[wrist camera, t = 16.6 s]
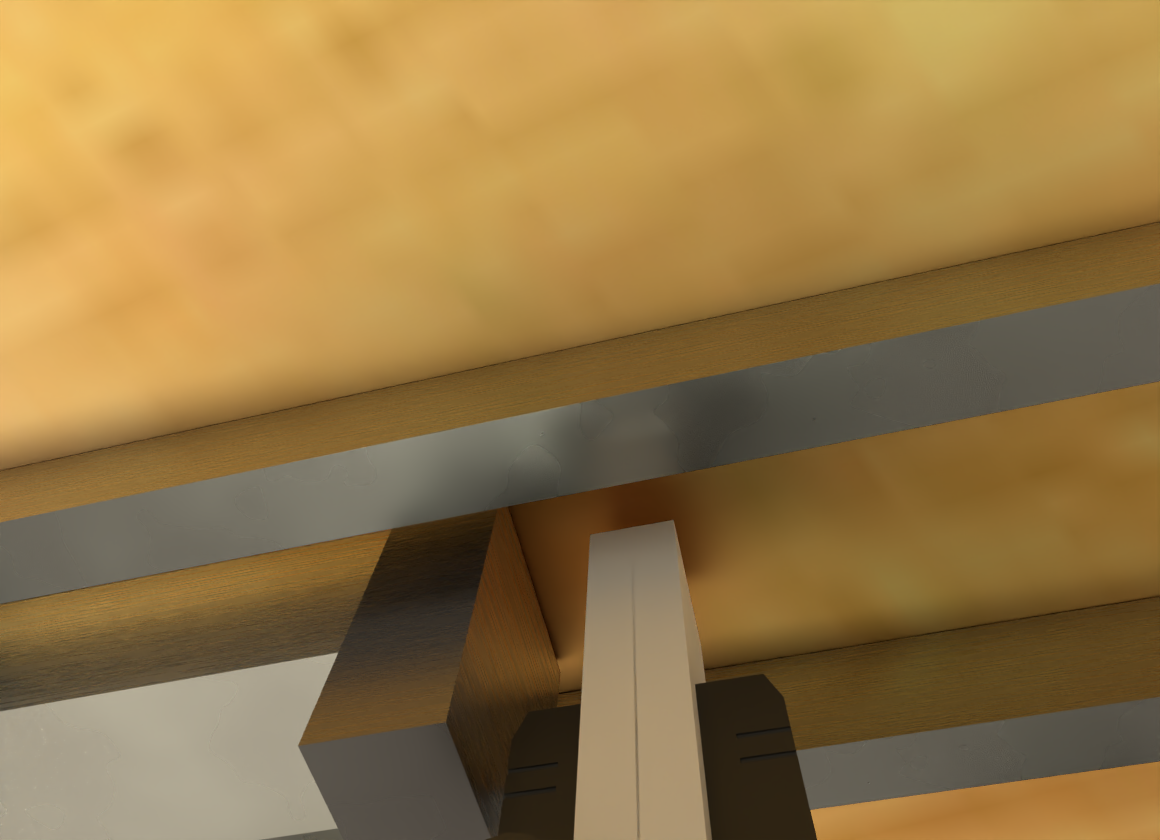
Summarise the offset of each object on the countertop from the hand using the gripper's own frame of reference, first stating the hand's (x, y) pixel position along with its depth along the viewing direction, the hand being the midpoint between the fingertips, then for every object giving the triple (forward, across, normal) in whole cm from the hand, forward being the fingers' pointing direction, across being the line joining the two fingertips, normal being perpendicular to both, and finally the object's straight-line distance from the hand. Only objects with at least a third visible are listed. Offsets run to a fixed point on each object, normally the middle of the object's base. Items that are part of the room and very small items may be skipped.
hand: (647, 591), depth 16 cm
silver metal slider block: (+1, +8, 0) cm, 8 cm away
